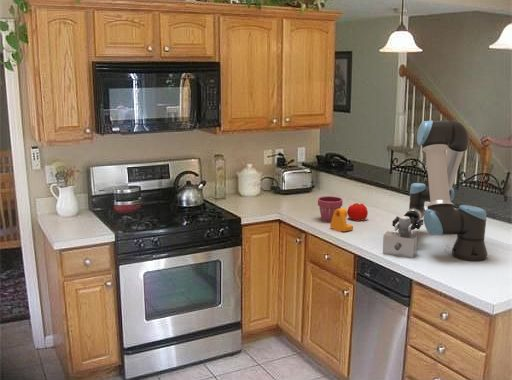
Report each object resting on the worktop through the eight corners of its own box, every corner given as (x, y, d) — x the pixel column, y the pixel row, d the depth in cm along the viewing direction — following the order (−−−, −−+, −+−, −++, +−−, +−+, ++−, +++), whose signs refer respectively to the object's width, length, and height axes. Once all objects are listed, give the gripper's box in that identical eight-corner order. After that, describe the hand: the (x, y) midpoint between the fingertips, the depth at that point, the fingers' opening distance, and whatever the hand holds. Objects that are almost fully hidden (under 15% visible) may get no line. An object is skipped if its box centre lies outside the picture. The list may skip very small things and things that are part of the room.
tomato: (350, 216, 316) (350, 201, 314) (370, 218, 311) (370, 203, 309) (344, 220, 307) (344, 205, 305) (364, 223, 302) (365, 207, 300)
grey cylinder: (412, 239, 256) (413, 217, 253) (405, 241, 252) (407, 219, 250) (402, 236, 260) (403, 215, 257) (395, 239, 256) (396, 217, 254)
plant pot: (339, 224, 299) (340, 202, 296) (315, 222, 303) (315, 200, 301) (343, 218, 312) (344, 197, 309) (320, 216, 316) (320, 195, 314)
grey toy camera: (420, 247, 258) (421, 225, 255) (412, 259, 241) (413, 235, 238) (391, 243, 264) (392, 222, 262) (381, 254, 247) (382, 232, 245)
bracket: (353, 230, 287) (354, 209, 284) (344, 233, 282) (345, 211, 280) (339, 226, 295) (340, 205, 293) (330, 228, 291) (330, 207, 288)
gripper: (430, 226, 267) (421, 239, 247) (393, 222, 275) (382, 234, 255) (431, 212, 265) (422, 223, 245) (394, 208, 273) (382, 219, 253)
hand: (402, 229), depth 250 cm, fingers closed on grey cylinder, 6 cm apart
